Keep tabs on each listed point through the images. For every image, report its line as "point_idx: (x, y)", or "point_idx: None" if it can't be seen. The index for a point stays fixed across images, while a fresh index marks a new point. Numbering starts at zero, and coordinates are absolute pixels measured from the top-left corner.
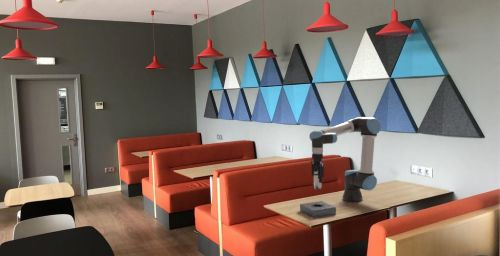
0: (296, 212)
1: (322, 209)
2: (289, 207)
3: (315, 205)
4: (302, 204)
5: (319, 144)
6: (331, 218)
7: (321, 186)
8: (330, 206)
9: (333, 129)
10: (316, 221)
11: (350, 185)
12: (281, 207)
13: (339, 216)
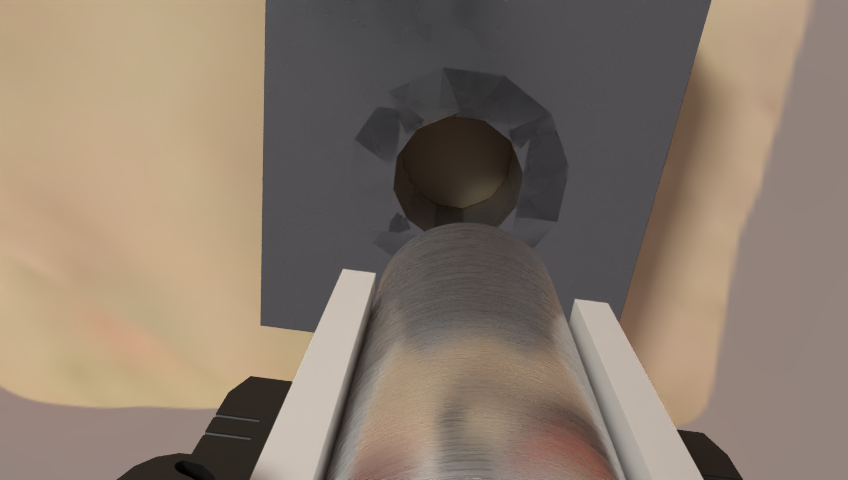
0: (304, 334)
1: (639, 242)
2: (91, 284)
3: (395, 169)
4: (290, 309)
5: None
6: (735, 166)
7: (609, 318)
8: (622, 48)
9: None
10: (685, 360)
11: None
12: (57, 349)
13: (758, 19)
